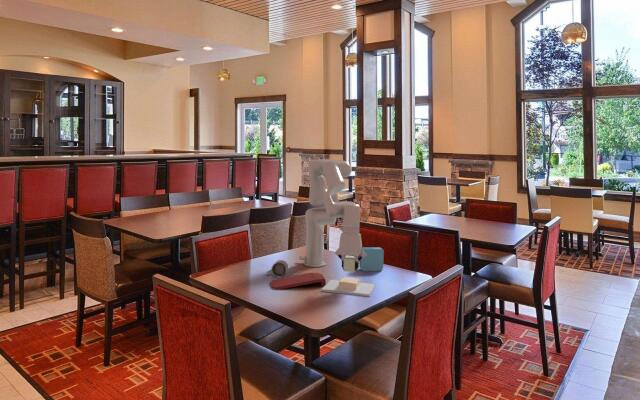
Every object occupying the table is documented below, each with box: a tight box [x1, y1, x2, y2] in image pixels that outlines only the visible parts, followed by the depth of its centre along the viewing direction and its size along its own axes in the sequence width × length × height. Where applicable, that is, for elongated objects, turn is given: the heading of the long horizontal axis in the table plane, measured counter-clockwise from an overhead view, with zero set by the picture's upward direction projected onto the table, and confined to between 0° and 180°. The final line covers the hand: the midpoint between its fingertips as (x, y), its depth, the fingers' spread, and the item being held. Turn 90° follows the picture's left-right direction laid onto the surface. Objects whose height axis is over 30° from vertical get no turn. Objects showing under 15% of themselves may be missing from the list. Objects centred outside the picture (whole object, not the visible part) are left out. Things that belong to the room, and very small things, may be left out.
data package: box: [359, 246, 385, 272], centre depth 248 cm, size 12×4×12 cm, turn 96°
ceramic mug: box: [266, 259, 289, 278], centre depth 235 cm, size 11×8×8 cm
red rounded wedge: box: [270, 272, 327, 290], centre depth 219 cm, size 12×5×25 cm
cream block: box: [343, 256, 356, 273], centre depth 213 cm, size 5×5×6 cm
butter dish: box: [321, 276, 376, 297], centre depth 215 cm, size 22×16×4 cm
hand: (350, 269), depth 214 cm, fingers closed on cream block, 4 cm apart
